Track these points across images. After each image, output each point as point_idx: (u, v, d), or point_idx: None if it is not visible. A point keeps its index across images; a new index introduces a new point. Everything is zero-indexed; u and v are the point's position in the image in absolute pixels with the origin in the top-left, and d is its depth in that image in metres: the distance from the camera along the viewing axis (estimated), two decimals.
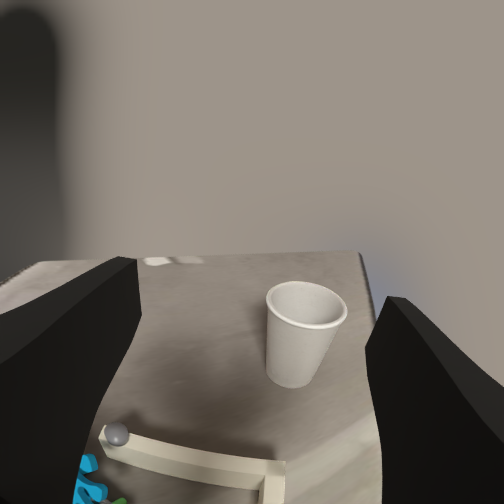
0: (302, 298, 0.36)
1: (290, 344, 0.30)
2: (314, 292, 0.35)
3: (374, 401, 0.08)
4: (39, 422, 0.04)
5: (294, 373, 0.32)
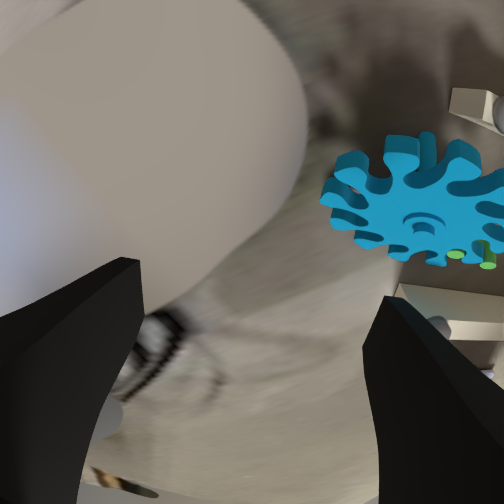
0: None
1: None
2: None
3: (372, 401, 0.08)
4: (43, 424, 0.04)
5: None
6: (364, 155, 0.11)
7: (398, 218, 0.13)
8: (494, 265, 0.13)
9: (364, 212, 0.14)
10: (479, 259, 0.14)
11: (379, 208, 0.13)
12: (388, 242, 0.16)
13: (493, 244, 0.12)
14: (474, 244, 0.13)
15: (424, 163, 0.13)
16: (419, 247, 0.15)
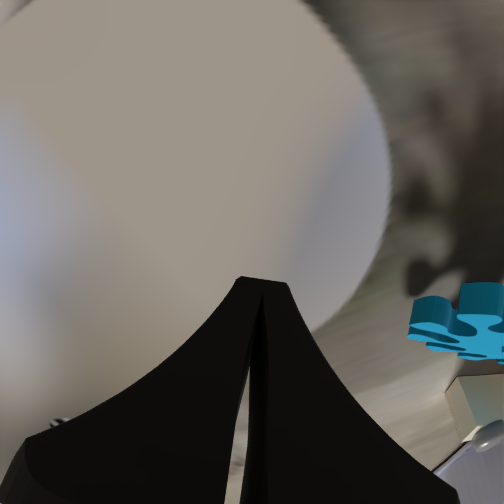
0: None
1: None
2: None
3: (249, 392, 0.08)
4: None
5: None
6: None
7: (500, 345, 0.08)
8: None
9: (463, 337, 0.09)
10: None
11: (486, 338, 0.08)
12: (468, 352, 0.10)
13: None
14: None
15: None
16: (500, 357, 0.10)
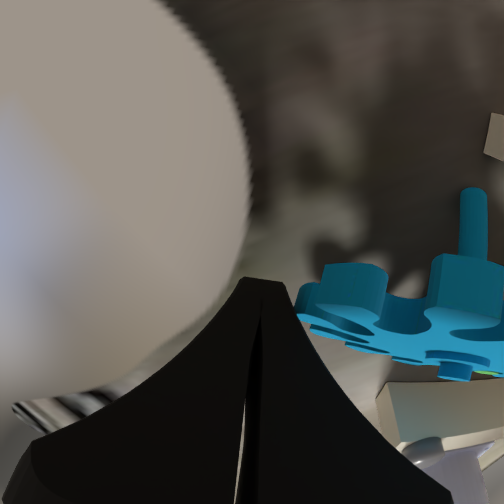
0: None
1: None
2: None
3: (246, 392, 0.08)
4: None
5: None
6: (381, 274, 0.05)
7: (419, 349, 0.07)
8: None
9: (365, 337, 0.08)
10: None
11: (391, 339, 0.07)
12: (396, 355, 0.10)
13: None
14: None
15: (471, 248, 0.08)
16: (439, 364, 0.09)
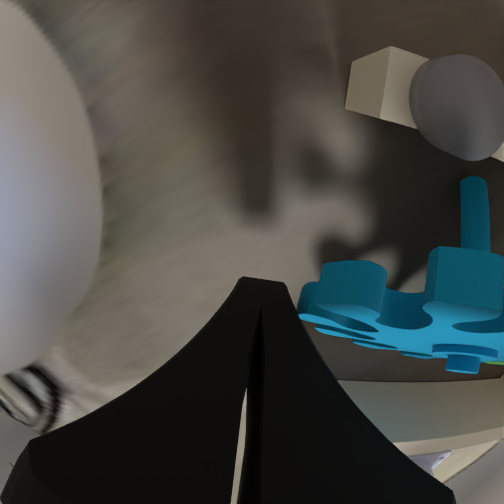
0: None
1: None
2: None
3: (247, 392, 0.08)
4: None
5: None
6: (379, 270, 0.05)
7: (425, 343, 0.07)
8: None
9: (370, 333, 0.08)
10: None
11: (396, 335, 0.07)
12: (404, 350, 0.10)
13: None
14: None
15: (473, 238, 0.08)
16: None
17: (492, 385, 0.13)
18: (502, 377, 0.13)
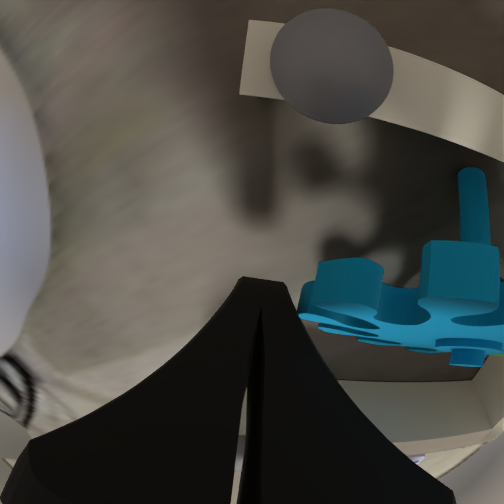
0: None
1: None
2: None
3: (247, 392, 0.08)
4: None
5: None
6: (374, 267, 0.05)
7: (428, 338, 0.07)
8: None
9: (372, 330, 0.08)
10: None
11: (398, 331, 0.07)
12: (408, 346, 0.10)
13: None
14: None
15: (472, 230, 0.07)
16: None
17: (461, 388, 0.13)
18: (474, 379, 0.13)
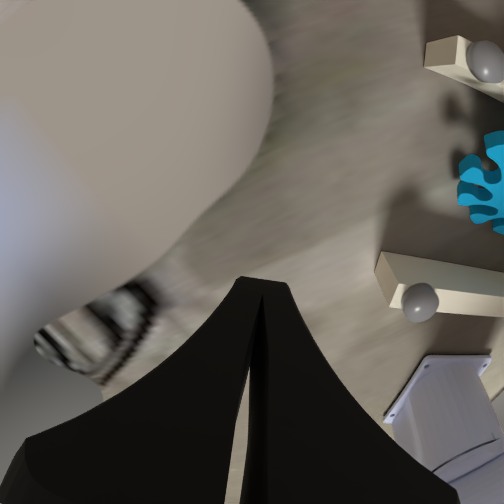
0: None
1: None
2: None
3: (249, 392, 0.08)
4: None
5: None
6: None
7: None
8: None
9: (494, 186, 0.12)
10: None
11: None
12: (500, 216, 0.14)
13: None
14: None
15: None
16: None
17: None
18: None
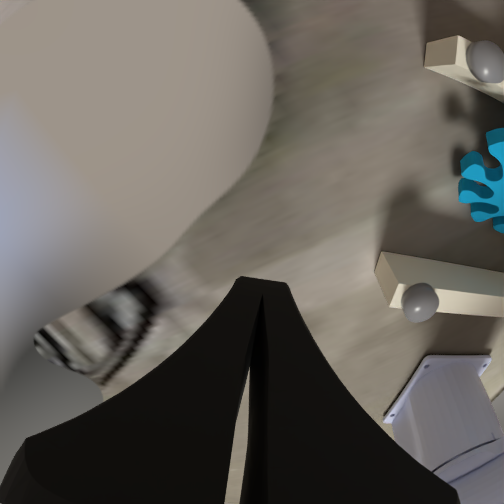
0: None
1: None
2: None
3: (249, 392, 0.08)
4: None
5: None
6: None
7: None
8: None
9: (495, 184, 0.12)
10: None
11: None
12: (500, 214, 0.14)
13: None
14: None
15: None
16: None
17: None
18: None
